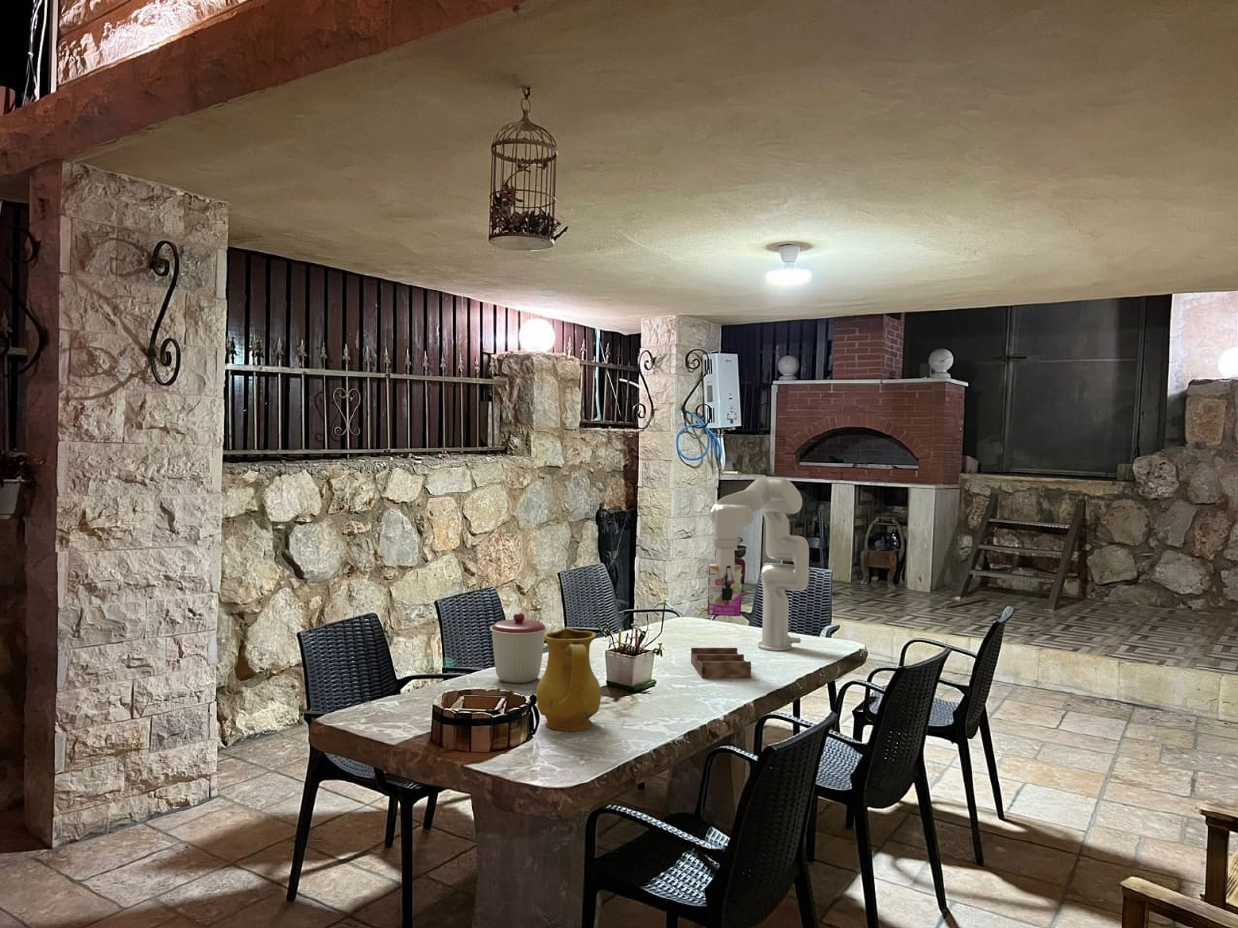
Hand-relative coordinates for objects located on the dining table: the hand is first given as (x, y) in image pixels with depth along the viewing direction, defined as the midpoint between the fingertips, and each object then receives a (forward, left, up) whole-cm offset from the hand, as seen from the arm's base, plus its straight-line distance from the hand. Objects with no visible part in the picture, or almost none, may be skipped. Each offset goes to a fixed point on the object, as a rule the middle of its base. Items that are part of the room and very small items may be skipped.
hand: (724, 598), depth 291 cm
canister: (+67, +6, -25) cm, 72 cm away
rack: (0, -5, -25) cm, 25 cm away
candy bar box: (0, 0, -6) cm, 6 cm away
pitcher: (+53, +53, -25) cm, 79 cm away
